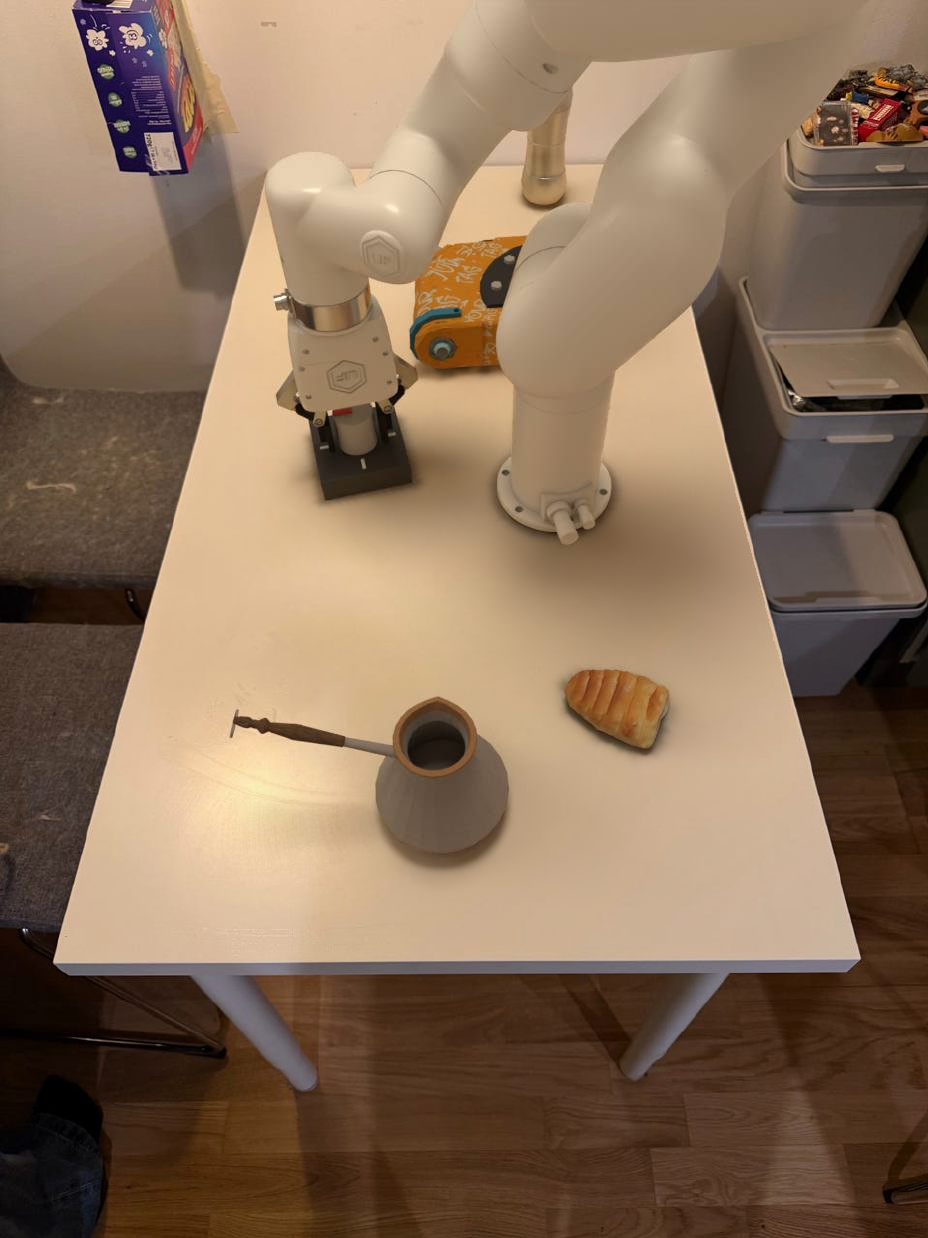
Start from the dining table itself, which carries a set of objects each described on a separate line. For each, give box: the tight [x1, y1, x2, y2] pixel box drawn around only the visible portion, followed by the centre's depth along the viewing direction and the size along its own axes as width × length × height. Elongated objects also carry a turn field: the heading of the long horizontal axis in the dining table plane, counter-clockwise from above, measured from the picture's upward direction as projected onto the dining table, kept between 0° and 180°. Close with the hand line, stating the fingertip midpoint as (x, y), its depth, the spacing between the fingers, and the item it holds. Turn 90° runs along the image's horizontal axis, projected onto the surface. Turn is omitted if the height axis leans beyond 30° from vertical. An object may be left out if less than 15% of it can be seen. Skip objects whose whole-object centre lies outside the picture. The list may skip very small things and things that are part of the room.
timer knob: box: [331, 403, 378, 455], centre depth 92 cm, size 4×4×5 cm
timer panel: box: [307, 405, 413, 501], centre depth 95 cm, size 10×10×3 cm
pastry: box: [564, 668, 671, 749], centre depth 77 cm, size 9×7×4 cm
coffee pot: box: [229, 696, 510, 854], centre depth 68 cm, size 21×12×15 cm, turn 87°
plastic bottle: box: [520, 87, 574, 206], centre depth 116 cm, size 6×7×20 cm
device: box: [409, 234, 528, 369], centre depth 106 cm, size 23×8×30 cm
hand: (357, 436), depth 94 cm, fingers open, 5 cm apart
